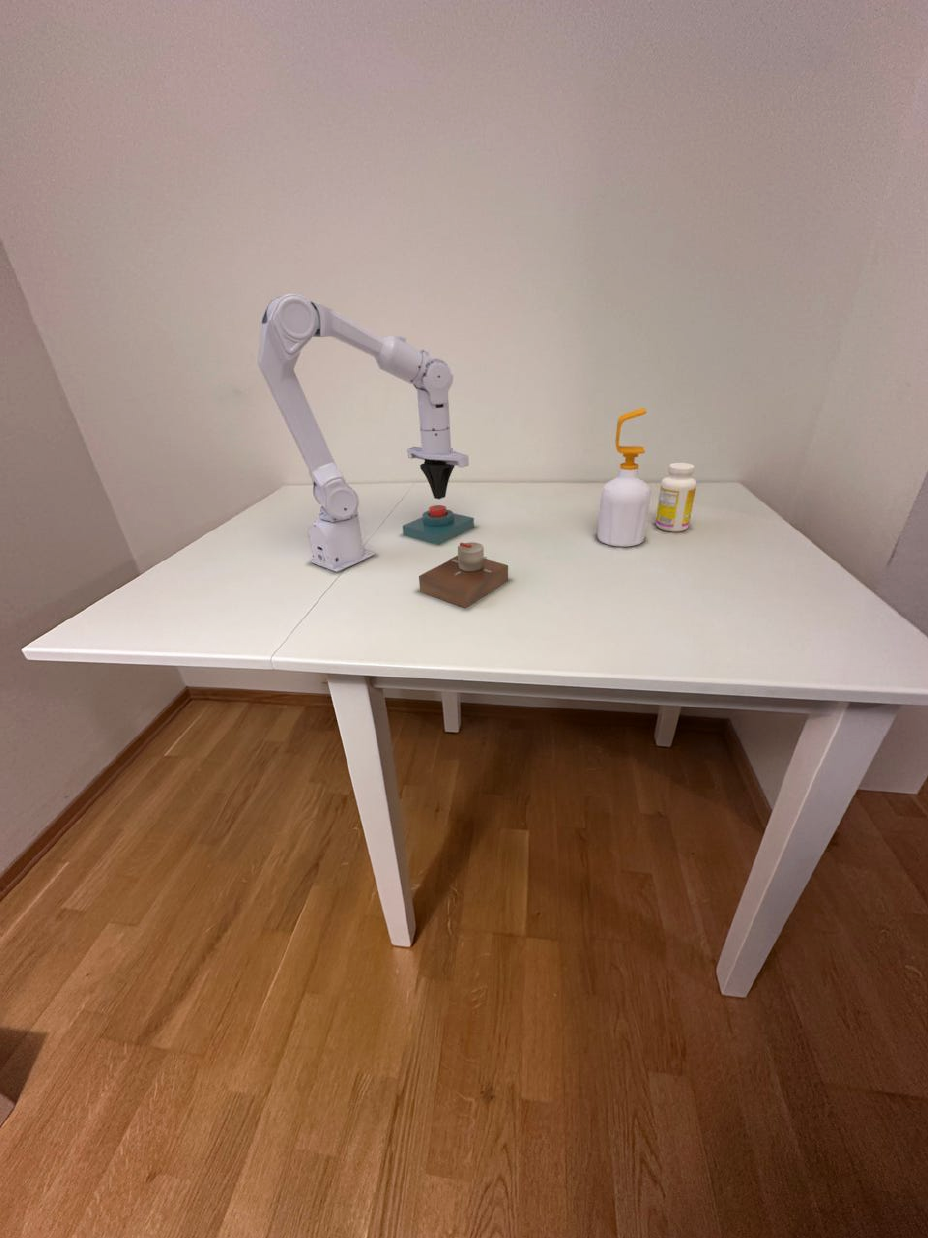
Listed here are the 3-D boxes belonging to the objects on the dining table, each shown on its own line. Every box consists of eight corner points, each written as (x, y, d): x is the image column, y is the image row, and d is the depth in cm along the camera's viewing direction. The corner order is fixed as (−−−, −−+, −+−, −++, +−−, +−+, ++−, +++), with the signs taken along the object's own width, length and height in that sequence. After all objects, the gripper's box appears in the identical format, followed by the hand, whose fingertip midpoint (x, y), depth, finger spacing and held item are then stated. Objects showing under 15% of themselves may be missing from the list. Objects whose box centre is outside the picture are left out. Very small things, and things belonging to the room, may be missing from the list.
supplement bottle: (683, 521, 110) (694, 460, 104) (692, 532, 105) (704, 469, 98) (651, 521, 111) (660, 461, 104) (658, 532, 105) (668, 470, 99)
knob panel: (465, 608, 82) (464, 591, 80) (420, 591, 87) (418, 575, 86) (509, 579, 90) (509, 563, 88) (465, 566, 95) (464, 550, 94)
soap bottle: (645, 548, 99) (666, 413, 86) (597, 546, 100) (610, 414, 88) (641, 531, 106) (660, 405, 94) (596, 530, 108) (608, 405, 95)
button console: (438, 545, 105) (436, 526, 102) (403, 535, 110) (401, 517, 108) (474, 527, 112) (473, 509, 110) (440, 518, 118) (439, 502, 116)
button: (438, 519, 107) (438, 511, 106) (426, 516, 109) (425, 508, 108) (449, 514, 110) (449, 506, 109) (437, 511, 112) (436, 503, 111)
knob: (489, 564, 88) (488, 544, 86) (473, 573, 86) (472, 552, 84) (469, 558, 91) (468, 538, 89) (453, 567, 88) (452, 547, 86)
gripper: (477, 427, 96) (479, 498, 103) (422, 421, 104) (427, 487, 111) (453, 434, 91) (457, 508, 98) (397, 427, 100) (404, 495, 107)
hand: (439, 497), depth 105 cm, fingers closed
